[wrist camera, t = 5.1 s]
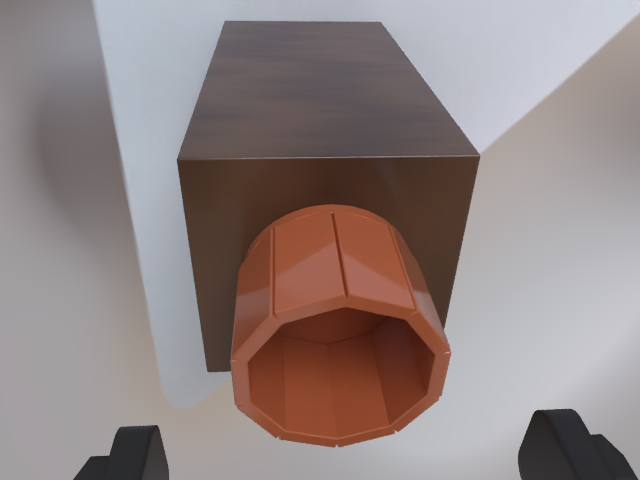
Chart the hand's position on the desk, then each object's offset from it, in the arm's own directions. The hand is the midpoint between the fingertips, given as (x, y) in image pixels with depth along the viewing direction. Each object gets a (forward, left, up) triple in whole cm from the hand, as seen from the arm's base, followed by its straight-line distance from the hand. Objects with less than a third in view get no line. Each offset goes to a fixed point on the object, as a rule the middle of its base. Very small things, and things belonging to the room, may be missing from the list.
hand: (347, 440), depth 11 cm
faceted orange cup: (0, 0, -6) cm, 6 cm away
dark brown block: (0, 0, -22) cm, 22 cm away
